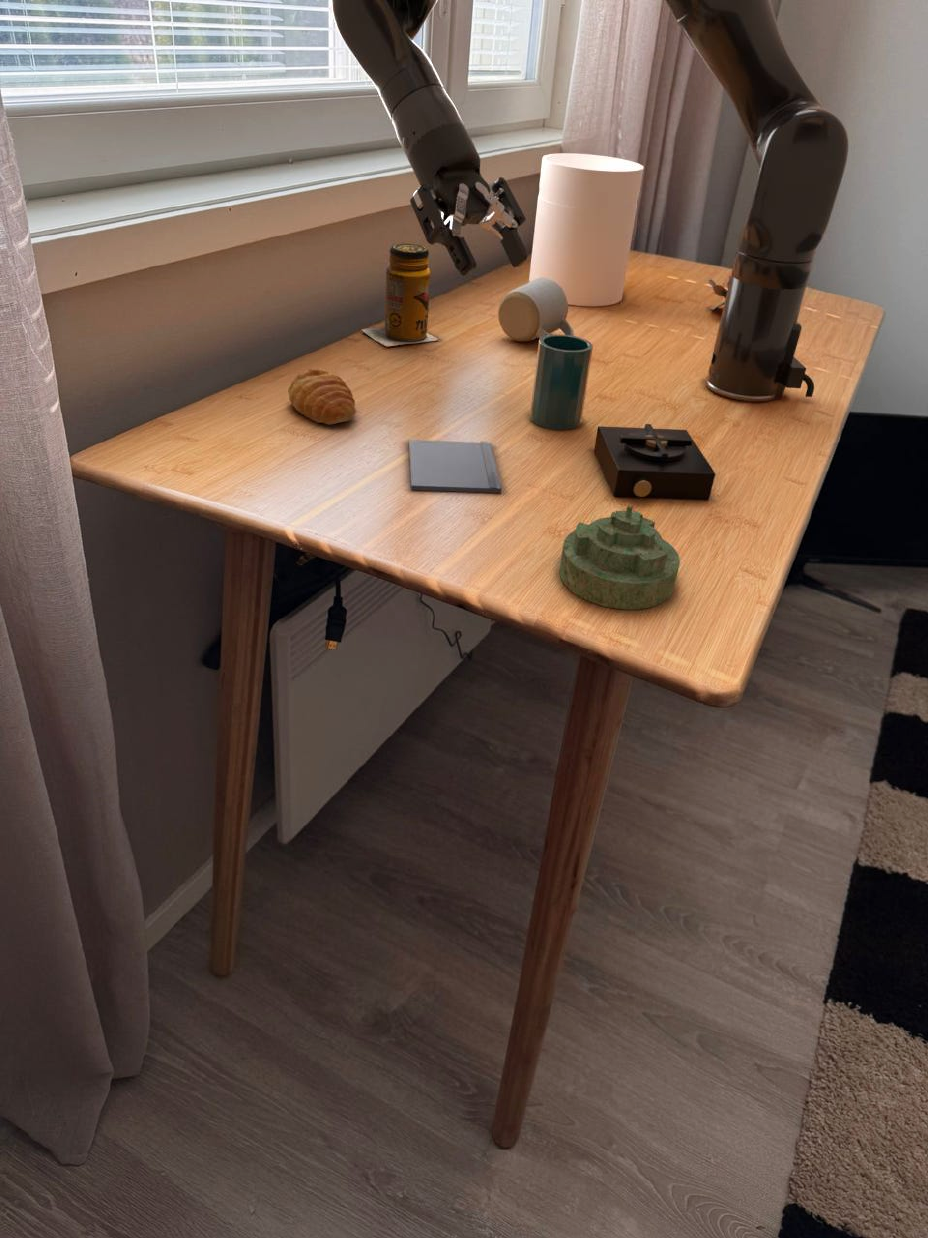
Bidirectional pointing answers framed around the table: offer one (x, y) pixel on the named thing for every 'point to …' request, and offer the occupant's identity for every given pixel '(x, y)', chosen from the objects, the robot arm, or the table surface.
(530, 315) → the ceramic mug
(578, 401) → the dark teal cup
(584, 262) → the canister
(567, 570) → the decorative artifact
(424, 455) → the grey notebook
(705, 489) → the stove
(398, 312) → the condiment
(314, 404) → the pastry
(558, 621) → the table surface
